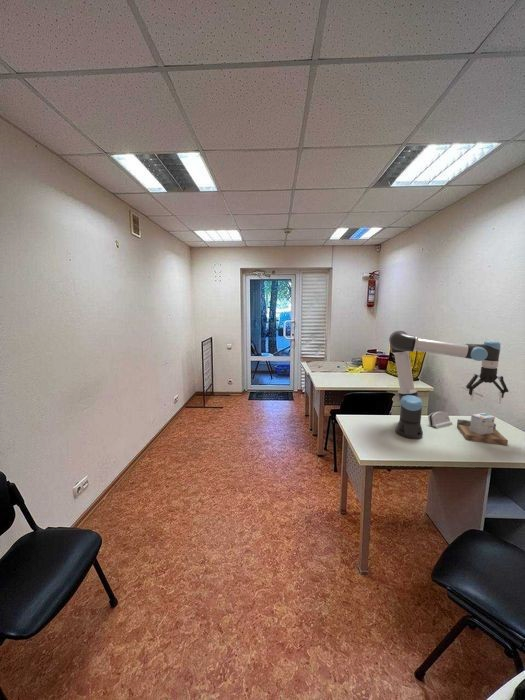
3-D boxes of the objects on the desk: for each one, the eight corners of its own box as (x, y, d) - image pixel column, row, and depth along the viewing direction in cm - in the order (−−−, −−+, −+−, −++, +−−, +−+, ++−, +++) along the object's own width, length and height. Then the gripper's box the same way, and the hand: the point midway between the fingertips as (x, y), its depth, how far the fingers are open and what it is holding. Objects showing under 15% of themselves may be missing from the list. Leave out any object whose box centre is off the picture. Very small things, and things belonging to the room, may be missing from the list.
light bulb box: (481, 428, 172) (483, 412, 170) (493, 433, 165) (495, 416, 164) (469, 430, 169) (471, 414, 167) (480, 435, 163) (482, 418, 161)
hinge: (436, 429, 178) (432, 413, 180) (429, 428, 183) (426, 413, 184) (453, 424, 185) (449, 410, 186) (446, 424, 189) (442, 410, 191)
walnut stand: (465, 439, 164) (466, 430, 163) (456, 427, 180) (457, 419, 180) (507, 445, 157) (508, 435, 156) (493, 432, 173) (494, 423, 172)
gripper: (466, 366, 162) (462, 400, 165) (519, 370, 153) (514, 406, 156) (462, 364, 169) (458, 397, 172) (512, 367, 160) (507, 401, 163)
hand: (484, 401), depth 164 cm, fingers open, 13 cm apart
